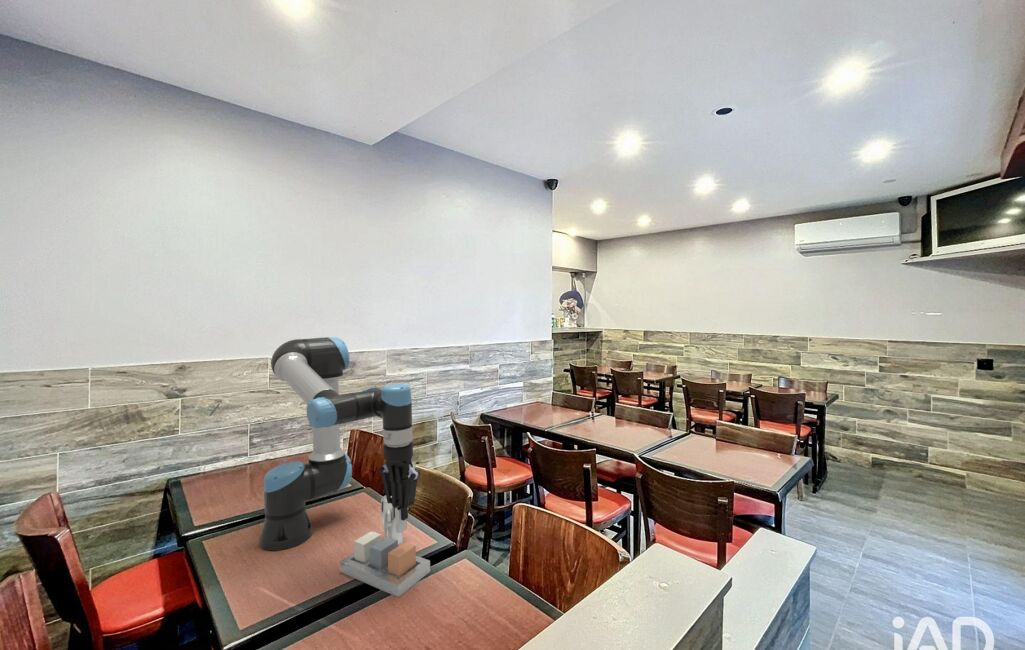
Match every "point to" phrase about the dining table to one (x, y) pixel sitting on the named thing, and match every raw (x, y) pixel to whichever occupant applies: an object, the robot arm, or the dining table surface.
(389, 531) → the beer glass
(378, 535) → the cream block
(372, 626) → the dining table surface
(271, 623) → the dining table surface
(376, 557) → the slate key
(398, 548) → the orange block
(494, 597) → the dining table surface
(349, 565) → the grey tray
